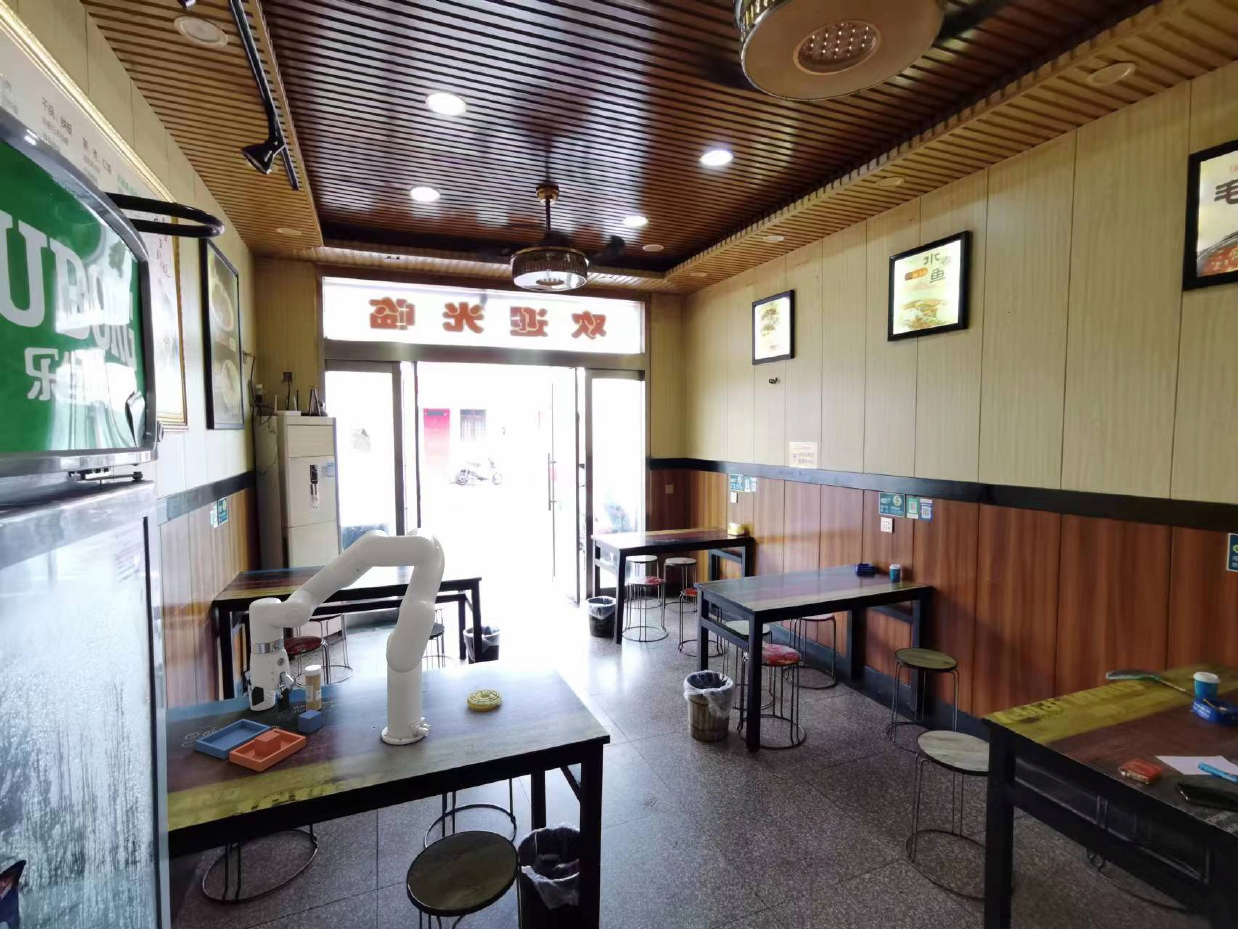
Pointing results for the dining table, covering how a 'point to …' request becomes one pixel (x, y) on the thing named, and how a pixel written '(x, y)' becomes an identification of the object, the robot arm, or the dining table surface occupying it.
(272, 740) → the terracotta block
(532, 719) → the dining table surface
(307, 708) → the sprinkles bottle
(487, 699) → the decorated donut
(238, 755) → the terracotta tray
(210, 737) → the slate-blue tray
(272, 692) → the white cup
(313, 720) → the slate-blue block
